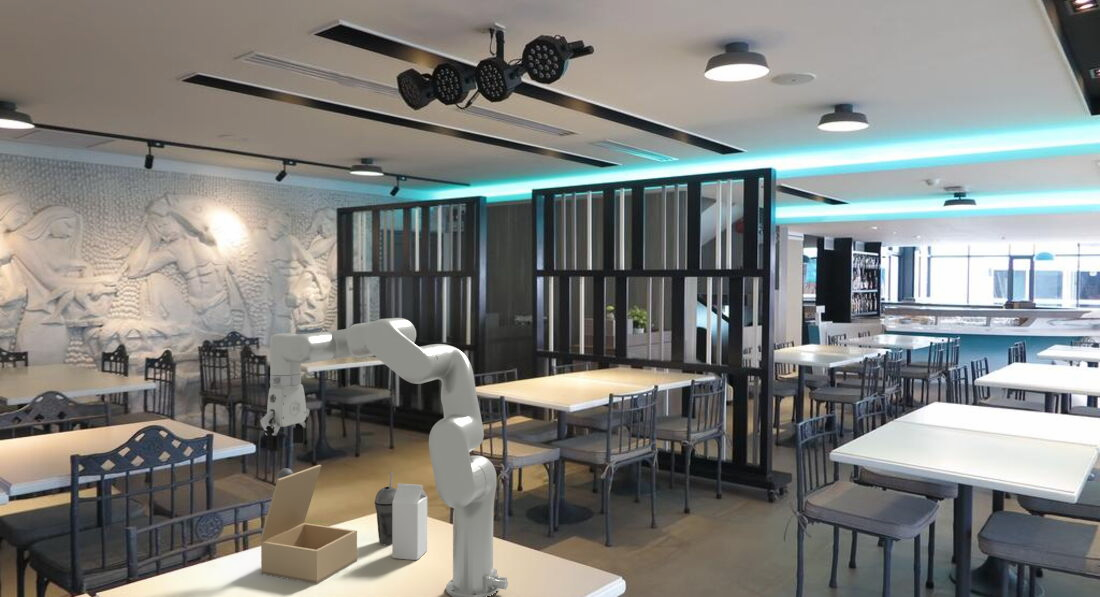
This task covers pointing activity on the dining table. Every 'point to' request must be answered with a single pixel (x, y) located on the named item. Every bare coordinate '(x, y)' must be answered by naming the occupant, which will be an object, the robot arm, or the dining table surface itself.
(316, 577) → the light brown open box
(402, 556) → the milk carton
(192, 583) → the dining table surface
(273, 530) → the flap
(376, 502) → the beverage cup
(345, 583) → the dining table surface
